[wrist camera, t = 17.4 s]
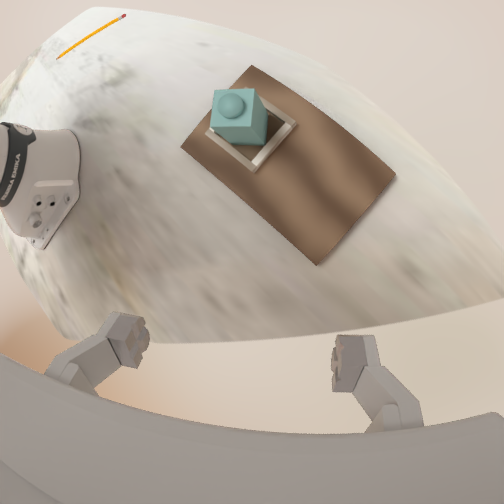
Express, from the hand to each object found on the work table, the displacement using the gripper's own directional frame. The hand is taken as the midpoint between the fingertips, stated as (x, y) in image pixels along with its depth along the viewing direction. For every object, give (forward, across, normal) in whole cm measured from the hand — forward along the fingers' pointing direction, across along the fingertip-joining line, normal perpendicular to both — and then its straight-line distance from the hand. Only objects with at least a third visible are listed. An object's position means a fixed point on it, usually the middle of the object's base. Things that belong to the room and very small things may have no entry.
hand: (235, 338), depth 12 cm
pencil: (+43, +37, -25) cm, 62 cm away
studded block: (+27, +3, -4) cm, 28 cm away
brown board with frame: (+27, -1, -1) cm, 27 cm away
